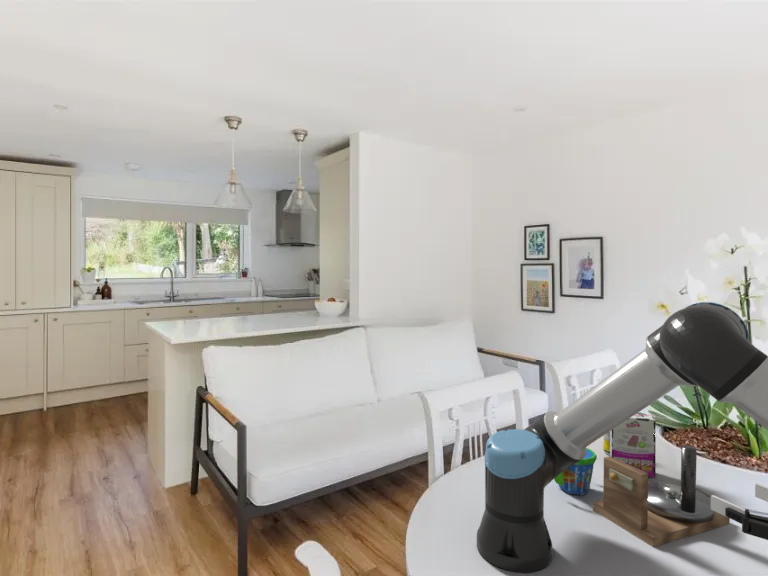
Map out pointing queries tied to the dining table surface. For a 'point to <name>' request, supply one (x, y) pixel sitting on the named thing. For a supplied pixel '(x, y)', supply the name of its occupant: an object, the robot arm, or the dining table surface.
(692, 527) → the levelling stand
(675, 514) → the dial
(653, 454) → the candy bar box
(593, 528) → the dining table surface
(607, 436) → the supplement bottle
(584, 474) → the snack cup
